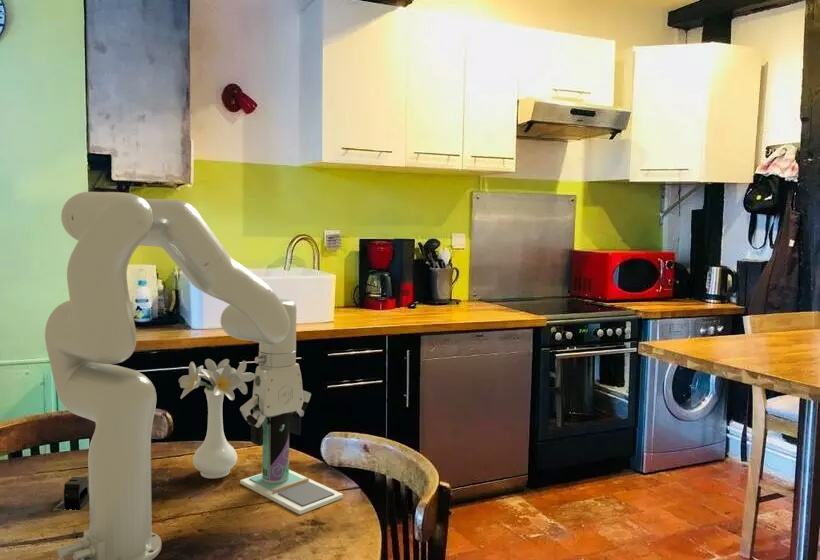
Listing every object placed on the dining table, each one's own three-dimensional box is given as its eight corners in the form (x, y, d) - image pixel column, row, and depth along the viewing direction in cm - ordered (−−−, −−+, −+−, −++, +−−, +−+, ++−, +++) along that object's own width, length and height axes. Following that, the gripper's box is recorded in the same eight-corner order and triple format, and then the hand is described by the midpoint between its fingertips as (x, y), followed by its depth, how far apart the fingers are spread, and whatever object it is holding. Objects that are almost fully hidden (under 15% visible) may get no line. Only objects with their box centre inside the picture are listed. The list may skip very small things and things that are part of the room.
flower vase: (260, 460, 158) (261, 353, 156) (221, 492, 140) (221, 372, 138) (209, 454, 161) (209, 349, 158) (164, 484, 143) (163, 367, 141)
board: (299, 514, 132) (300, 507, 132) (240, 483, 145) (240, 476, 145) (343, 498, 140) (343, 490, 140) (282, 469, 153) (282, 463, 153)
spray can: (282, 485, 142) (283, 390, 140) (258, 482, 143) (258, 388, 141) (292, 475, 148) (293, 384, 145) (268, 472, 149) (269, 382, 147)
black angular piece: (71, 489, 141) (71, 467, 141) (108, 489, 141) (107, 468, 141) (42, 517, 129) (42, 493, 128) (82, 517, 129) (82, 494, 129)
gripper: (252, 368, 134) (252, 453, 136) (321, 356, 147) (319, 434, 149) (231, 361, 139) (230, 443, 141) (299, 350, 152) (298, 425, 154)
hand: (276, 438), depth 145 cm, fingers open, 9 cm apart
